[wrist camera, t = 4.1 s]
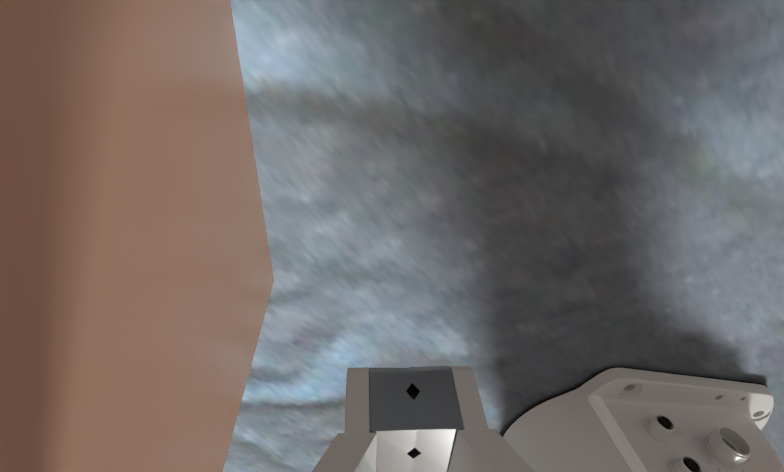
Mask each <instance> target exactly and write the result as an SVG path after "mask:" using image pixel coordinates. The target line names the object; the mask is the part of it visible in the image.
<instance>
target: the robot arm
mask: <svg viewBox="0 0 784 472" xmlns="http://www.w3.org/2000/svg"><path fill="white" fill-rule="evenodd" d="M773 405H774V400H773V396H772V394H771V393H770V391H769V390H768V389H767V387H766V386H764V385H759V384H752V383H744V382H735V381H727V380H719V379H711V378H702V377H694V376H686V375H677V374H669V373H661V372H652V371H644V370H636V369H627V368H612V369H608V370H606V371H604V372H602V373H600V374H598V375H597V376H595V377H593V378H592V379H591V380H589V381H588V382H586V383H585V384H583V385H582V386H581V387H579V388H577V389H575V390H573V391H571V392H568V393H566V394H563V395H560V396H558V397H555V398H553V399H550V400H548V401H546V402H544V403H542V404H540V405H538V406H536V407H534V408H533V409H531V410H529V411H528V412H526V413H525V414H524V415H522V416H521V417H520V418H518V419H517V420H516V421H515V422H514V423H513V424H512V425H511V426H510V427H509V429H508V430H507V431H506V433H505V434H504V436H503V437H502V436H501V435H500V434H499V433H498V432H497V431H496V430H495V429H488V425H487V422H486V418H485V414H484V410H483V406H482V403H481V399H480V395H479V391H478V388H477V384H476V380H475V376H474V372H473V369H472V368H471V367H470V366H450V367H449V366H426V367H409V368H348V370H347V382H346V407H345V433H339V434H337V436H336V437H335V439H334V440H333V442H332V443H331V445H330V446H329V448H328V449H327V451H326V452H325V453H324V455H323V456H322V458H321V459H320V461H319V462H318V464H317V465H316V467H315V468H314V470H313V471H312V472H784V469H783V466H782V464H781V462H780V460H779V458H778V456H777V454H776V452H775V451H774V449H773V448H772V446H771V445H770V443H769V442H768V440H767V439H766V437H765V436H764V434H763V433H762V432H761V429H762V428H763V427H764V425H765V424H766V422H767V421H768V419H769V417H770V415H771V413H772V409H773Z"/></svg>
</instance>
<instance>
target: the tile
mask: <svg viewBox="0 0 784 472" xmlns="http://www.w3.org/2000/svg"><path fill="white" fill-rule="evenodd" d="M273 282H274V278H273V272H272V265H271V259H270V253H269V246H268V240H267V234H266V227H265V221H264V214H263V208H262V202H261V195H260V189H259V183H258V176H257V170H256V163H255V157H254V151H253V144H252V138H251V132H250V125H249V119H248V112H247V106H246V100H245V93H244V87H243V81H242V74H241V68H240V61H239V55H238V49H237V42H236V36H235V29H234V23H233V17H232V10H231V4H230V0H0V472H222V471H223V467H224V463H225V460H226V456H227V452H228V449H229V445H230V441H231V438H232V434H233V430H234V426H235V423H236V419H237V415H238V412H239V408H240V404H241V401H242V397H243V393H244V389H245V386H246V382H247V378H248V375H249V371H250V367H251V364H252V360H253V356H254V352H255V349H256V345H257V341H258V338H259V334H260V330H261V327H262V323H263V319H264V315H265V312H266V308H267V304H268V301H269V297H270V293H271V289H272V286H273Z"/></svg>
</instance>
